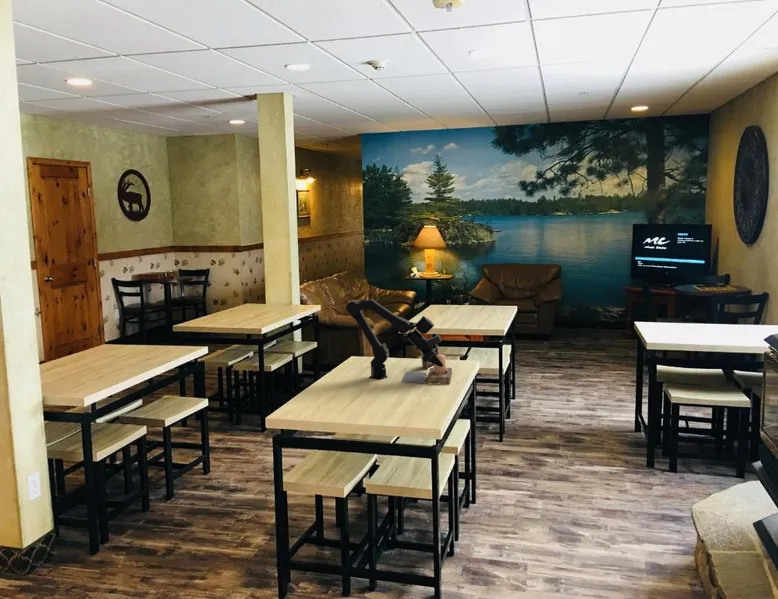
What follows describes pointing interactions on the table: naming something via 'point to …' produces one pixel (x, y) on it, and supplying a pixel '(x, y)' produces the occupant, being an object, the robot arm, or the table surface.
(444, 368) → the pink tall rounded piece
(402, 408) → the table surface
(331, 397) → the table surface
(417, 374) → the mat
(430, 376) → the well block
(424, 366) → the food container
